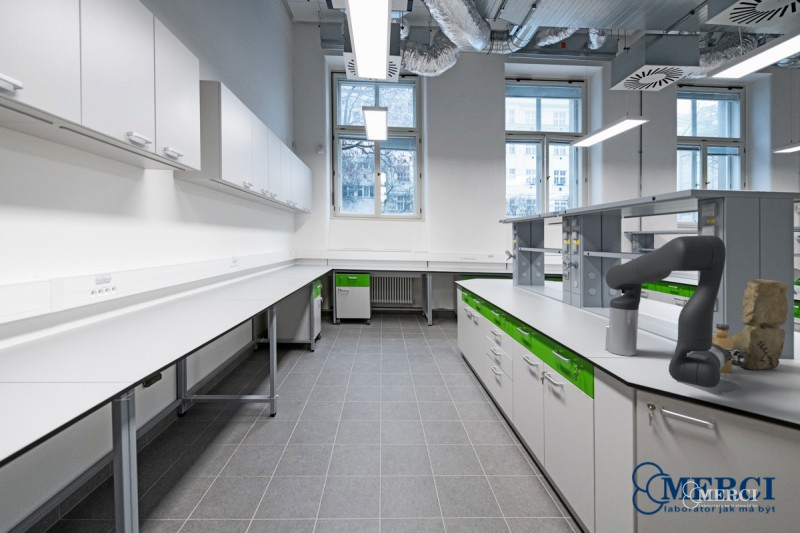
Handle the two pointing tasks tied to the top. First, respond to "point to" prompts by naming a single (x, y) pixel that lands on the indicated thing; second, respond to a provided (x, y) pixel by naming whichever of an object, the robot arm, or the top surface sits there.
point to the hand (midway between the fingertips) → (719, 347)
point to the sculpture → (762, 324)
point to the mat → (718, 386)
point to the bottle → (723, 343)
